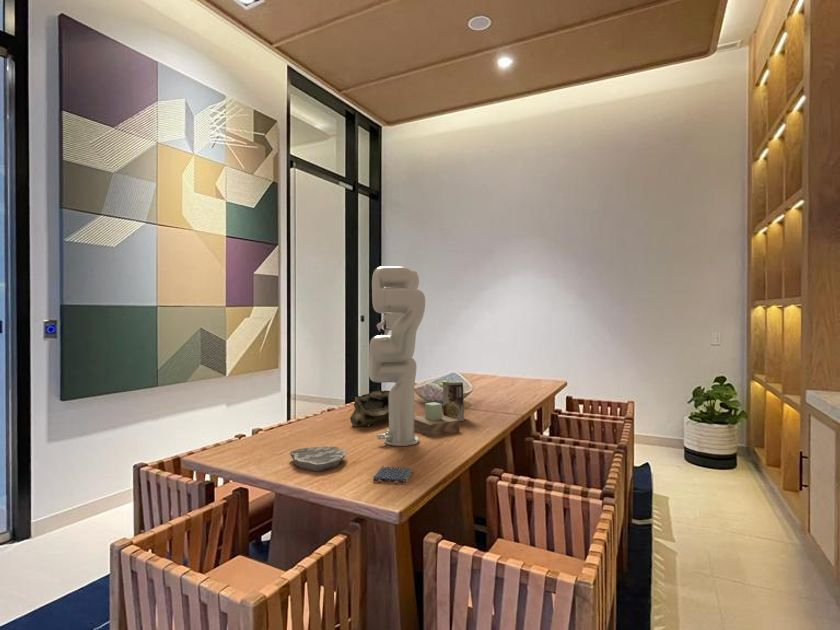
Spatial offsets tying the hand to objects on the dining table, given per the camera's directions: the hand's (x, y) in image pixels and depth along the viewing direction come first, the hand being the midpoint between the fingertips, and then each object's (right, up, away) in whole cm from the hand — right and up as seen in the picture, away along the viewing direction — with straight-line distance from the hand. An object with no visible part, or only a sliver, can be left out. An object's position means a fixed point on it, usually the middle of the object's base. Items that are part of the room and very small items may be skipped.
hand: (395, 344), depth 205 cm
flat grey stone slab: (-22, -36, -49) cm, 65 cm away
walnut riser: (+16, -35, -9) cm, 39 cm away
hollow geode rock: (-8, -35, +7) cm, 36 cm away
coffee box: (+25, -34, +10) cm, 44 cm away
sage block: (+16, -30, -8) cm, 35 cm away
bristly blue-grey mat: (+3, -36, -64) cm, 74 cm away
